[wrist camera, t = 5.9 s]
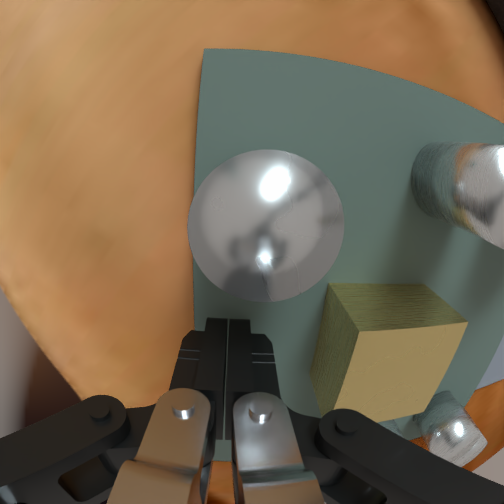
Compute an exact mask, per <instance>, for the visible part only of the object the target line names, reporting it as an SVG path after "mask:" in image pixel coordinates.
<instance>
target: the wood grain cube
mask: <svg viewBox="0 0 504 504" xmlns="http://www.w3.org/2000/svg"><path fill="white" fill-rule="evenodd" d="M467 324H468V321H467V320H466V319H465V318H464V317H462V316H461V315H460V314H459V313H458V312H457V311H456V310H454V309H453V308H452V307H451V306H450V305H449V304H448V303H446V302H445V301H444V300H443V299H442V298H440V297H439V296H438V295H437V294H436V293H435V292H433V291H432V290H431V289H430V288H428V287H427V286H426V285H425V284H371V283H328V288H327V294H326V299H325V304H324V309H323V314H322V319H321V324H320V329H319V334H318V338H317V343H316V347H315V352H314V356H313V360H312V365H311V369H310V373H309V375H310V378H311V382H312V385H313V389H314V392H315V395H316V399H317V402H318V406H319V409H320V413H321V416H322V417H323V416H324V415H325V414H326V413H328V412H329V411H331V410H335V409H340V408H346V409H352V410H355V411H358V412H360V413H361V414H363V415H365V416H366V417H368V418H370V419H371V420H373V421H375V422H376V423H377V422H382V421H387V420H392V419H397V418H401V417H405V416H410V415H414V414H418V413H421V412H424V410H425V409H426V407H427V405H428V404H429V402H430V400H431V399H432V397H433V395H434V393H435V392H436V390H437V388H438V386H439V384H440V382H441V381H442V379H443V377H444V375H445V373H446V371H447V369H448V367H449V365H450V363H451V361H452V359H453V357H454V354H455V352H456V350H457V348H458V346H459V343H460V341H461V339H462V337H463V334H464V332H465V329H466V327H467Z"/></svg>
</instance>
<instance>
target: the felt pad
mask: <svg viewBox="0 0 504 504" xmlns="http://www.w3.org/2000/svg"><path fill="white" fill-rule="evenodd" d="M502 379H504V336H503V338H502V340H501V342H500V344H499V346H498V349H497V351H496V353H495V355H494V357H493V359H492V361H491V363H490V364H489V366H488V368H487V370H486V372H485V374H484V376H483V377H482V379H481V381H480V383H479V384H478V386H477V388H476V389H479V388H482V387H484V386H487V385H489V384H492V383H494V382H497V381H499V380H502ZM476 389H475V390H476Z"/></svg>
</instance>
